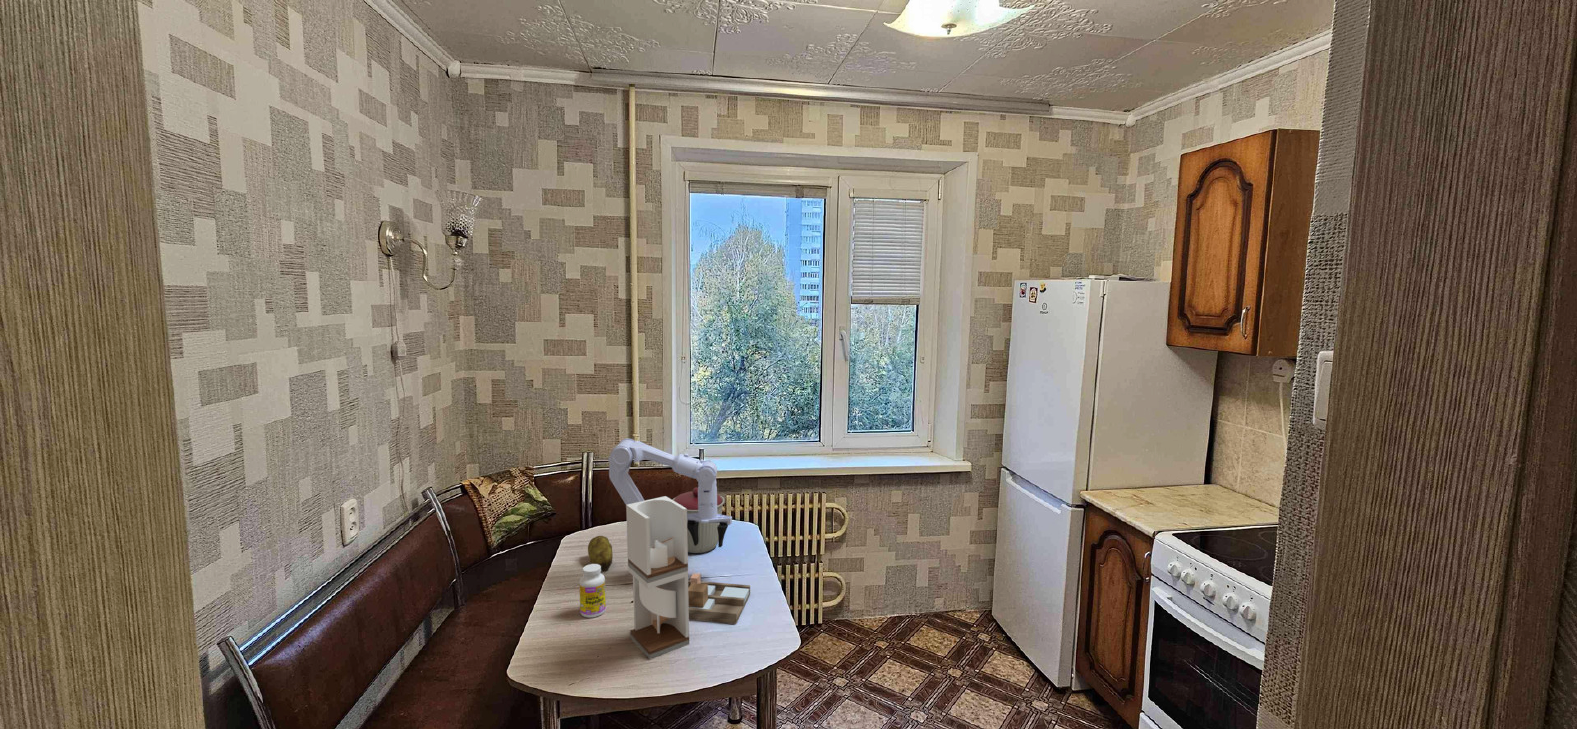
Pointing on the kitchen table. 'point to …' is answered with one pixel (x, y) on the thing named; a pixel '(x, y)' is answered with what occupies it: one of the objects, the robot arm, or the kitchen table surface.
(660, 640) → the white tiered stand
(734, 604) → the lane board
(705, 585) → the walnut block
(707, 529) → the canister
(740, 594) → the broken strip
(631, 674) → the kitchen table surface
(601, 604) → the supplement bottle
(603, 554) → the potato
